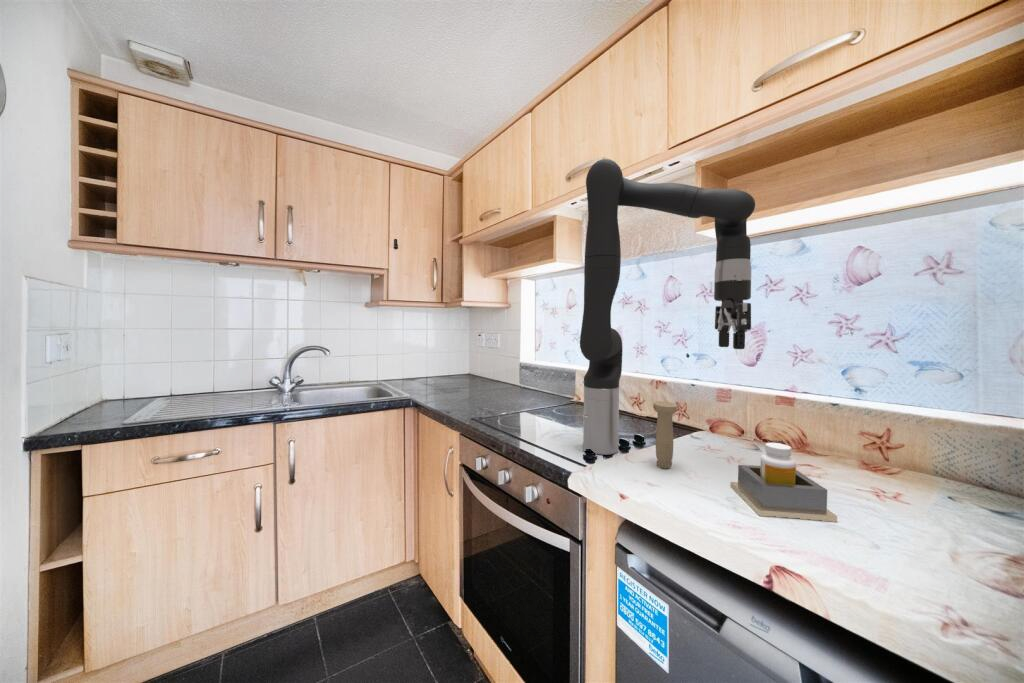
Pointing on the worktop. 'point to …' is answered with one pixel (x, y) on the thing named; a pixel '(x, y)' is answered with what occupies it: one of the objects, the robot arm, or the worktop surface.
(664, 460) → the handle
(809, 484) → the gray open box
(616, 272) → the robot arm
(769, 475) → the supplement bottle
